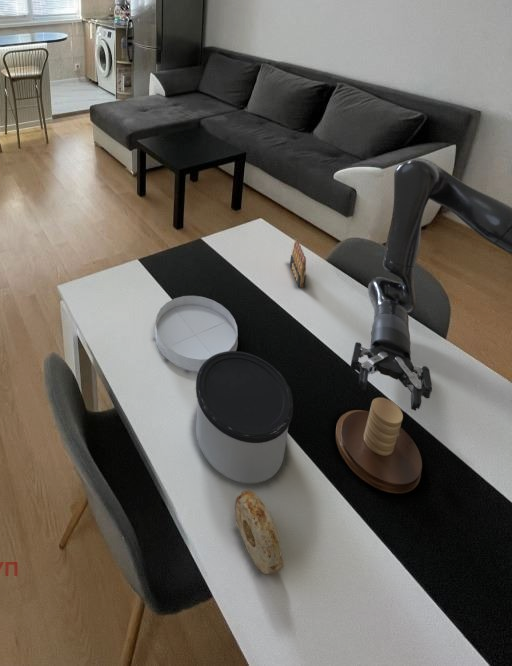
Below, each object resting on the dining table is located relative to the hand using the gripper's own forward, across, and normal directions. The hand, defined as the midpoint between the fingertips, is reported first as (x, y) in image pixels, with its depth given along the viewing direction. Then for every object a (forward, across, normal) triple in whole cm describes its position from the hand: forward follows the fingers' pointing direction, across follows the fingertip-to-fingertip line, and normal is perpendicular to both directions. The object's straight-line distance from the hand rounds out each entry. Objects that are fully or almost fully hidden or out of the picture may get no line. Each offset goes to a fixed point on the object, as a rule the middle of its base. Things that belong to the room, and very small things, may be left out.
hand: (388, 396), depth 86 cm
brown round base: (+4, 0, +13) cm, 13 cm away
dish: (-6, -43, +13) cm, 45 cm away
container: (+14, -25, +13) cm, 32 cm away
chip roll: (+3, 0, +9) cm, 10 cm away
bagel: (+31, -18, +13) cm, 38 cm away
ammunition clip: (-44, -24, +13) cm, 51 cm away
